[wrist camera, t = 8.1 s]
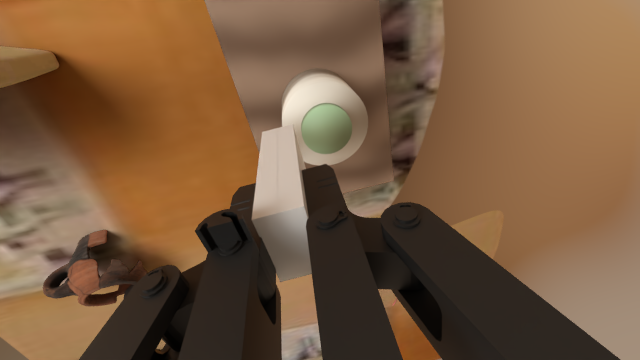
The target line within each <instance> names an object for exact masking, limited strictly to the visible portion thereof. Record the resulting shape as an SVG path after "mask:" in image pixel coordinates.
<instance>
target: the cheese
mask: <svg viewBox="0 0 640 360" xmlns="http://www.w3.org/2000/svg"><path fill="white" fill-rule="evenodd" d="M58 67H59V63H58V61H57V59H56V57H55V55H54V54H53V53H52V52H50V51H46V50H38V49H27V48H17V47H6V46H0V88H2V87H6V86H9V85H13V84H16V83H19V82H22V81H25V80H28V79H31V78H34V77H37V76H40V75H42V74H45V73H47V72H50V71H53V70H55V69H57V68H58Z"/></svg>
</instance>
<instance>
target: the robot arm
mask: <svg viewBox="0 0 640 360" xmlns="http://www.w3.org/2000/svg"><path fill="white" fill-rule="evenodd" d="M195 232H196V234H197V235H198V237H199V239H200V240H201V242H202V243H203V245H204V247H205V248H206V250H207V251H208V254H207V258H206V260H205V261H203V262H202V263H200V264H198V265H196V266H194V267H192V268H190V269H188V270H186V271H184V272H182V273H181V272H180V270H179V269H178V268H177V267H176V266H172V265H166V266H162V267H158V268H156V269H154V270H152V271H150V272H149V273H147V274H146V275H145V276H143V277H142V278H141V279H140V280H139V281H138V282H137V283H136V284H135V285H134V286H133V288H132V289H131V290H130V292H129V293H128V294H127V296H126V297H125V298H124V300H123V301H122V302H121V304H120V305H119V306H118V308H117V309H116V310H115V312H114V313H113V314H112V316H111V317H110V319H109V320H108V321H107V323H106V324H105V325H104V327H103V328H102V329H101V331H100V332H99V333H98V335H97V336H96V337H95V339H94V340H93V341H92V343H91V344H90V345H89V347H88V348H87V349H86V351H85V352H84V353H83V355H82V356H81V358H80V359H79V360H282V354H281V296H280V292H279V290H278V288H277V285H276V274H277V276H278V278H279V280H280V282H283V281H286V280H290V279H294V278H298V277H302V276H306V275H309V274H312V278H313V286H314V294H315V302H316V310H317V318H318V326H319V333H320V341H321V349H322V357H323V360H403V359H402V356H401V353H400V350H399V347H398V345H397V342H396V339H395V336H394V333H393V330H392V328H391V325H390V322H389V319H388V316H387V314H386V311H385V308H384V305H383V302H382V300H381V297H380V294H379V291H378V289H392V291H393V293H394V294H395V296H396V297H397V298H398V300H399V301H400V302H401V304H402V305H403V307H404V308H405V309H406V311H407V312H408V313H409V315H410V316H411V317H412V319H413V320H414V321H415V323H416V324H417V326H418V327H419V328H420V330H421V331H422V332H423V334H424V335H425V336H426V338H427V339H428V340H429V342H430V343H431V345H432V346H433V347H434V349H435V350H436V351H437V353H438V354H439V355H440V357H441V358H442V359H443V360H620V359H619V358H618V357H616V356H615V355H614V354H612V353H611V352H610V351H609V350H607V349H606V348H605V347H604V346H602V345H601V344H600V343H599V342H597V341H596V340H595V339H593V338H592V337H591V336H590V335H588V334H587V333H586V332H585V331H583V330H582V329H581V328H579V327H578V326H577V325H575V324H574V323H573V322H572V321H570V320H569V319H568V318H567V317H565V316H564V315H563V314H561V313H560V312H559V311H558V310H556V309H555V308H554V307H553V306H551V305H550V304H549V303H548V302H546V301H545V300H544V299H542V298H541V297H540V296H539V295H537V294H536V293H535V292H533V291H532V290H531V289H529V288H528V287H527V286H526V285H525V284H523V283H522V282H521V281H519V280H518V279H517V278H516V277H514V276H513V275H512V274H511V273H509V272H508V271H507V270H505V269H504V268H503V267H501V266H500V265H499V264H498V263H497V262H495V261H494V260H493V259H491V258H490V257H489V256H488V255H486V254H485V253H484V252H482V251H481V250H480V249H479V248H477V247H476V246H475V245H474V244H472V243H471V242H470V241H468V240H467V239H466V238H465V237H463V236H462V235H461V234H460V233H458V232H457V231H456V230H454V229H453V228H452V227H451V226H449V225H448V224H447V223H445V222H444V221H443V220H442V219H440V218H439V217H438V216H436V215H435V214H434V213H433V212H431V211H430V210H429V209H428V208H426V207H424V206H422V205H420V204H415V203H411V202H410V203H398V204H395V205H392V206H390V207H389V208H387V209H386V210H385V211H384V212H383V214H382V215H381V218H364V217H360V216H357V215H354V214H352V213H351V212H350V211H349V210H348V208H347V206H346V203H345V201H344V198H343V195H342V192H341V189H340V186H339V184H338V181H337V178H336V175H335V172H334V169H333V168H332V167H330V166H329V165H327V164H323V165H319V166H315V167H312V168H308V169H306V167H305V164H304V161H303V157H302V154H301V150H300V147H299V143H298V140H297V137H296V133H295V130H294V126H293V124H291V125H287V126H283V127H280V128H276V129H272V130H268V131H264V132H262V138H261V146H260V155H259V163H258V171H257V179H256V183H254V184H250V185H247V186H243V187H240V188H239V189H238V190H237V191H236V193H235V194H234V195H233V197H232V202H231V206H230V209H226V210H221V211H219V212H216V213H213V214H212V215H210V216H209V217H207V218H205V219H204V220H203V221H202V222H201V223H200V224H199V225H198V227H197V228H196V230H195ZM161 339H162V340H163V341H164V342H165V343H166V344H165V346H164V347H163V349H162V350H161V351H160V352H159V353H157V352H156V351H155V350H156V348H157V346H158V344H159V342H160V341H161Z"/></svg>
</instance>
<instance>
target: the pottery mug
mask: <svg viewBox="0 0 640 360" xmlns="http://www.w3.org/2000/svg"><path fill="white" fill-rule="evenodd" d="M107 232H108V231H107V230H101V231H97V232H94V233H91V234H89V235H86V236H85V237H83V238H82V239H81V240H80V241H79V243H78V246H77V248H76V250H75V252H74V254H73V256H72V259H71V260H70V262H69V263H68V264H66V265H64V266H62V267H60V268H59V269H57V270H56V271H54V272H53V273H52V274H51V275H50V276H48V278H47V279H46V280H45V282H44V285H43V292H44V294H45V295H46V296H48V297H51V298H63V297H67V296H71V295H77V296H79V297H78V302H79V303H80V304H81V305H85V306H102V305H108V304H113V303H116V301H117V296H119V295H122V294H124V293H125V294H124V298H125V297H126V296H127V294H128V293H129V292H130V290H131V289H132V288H133V286H134V285H135V284H136V283H137V282H138V281H139V280H140V279H141V278H142V277H143V276H145V275H146V274H147V271H146V270H145V269H144V268H143V266H142V262H141V261H140V260H139V261H138V263H137V264H136V266H135V267H134V268H133V269H132V270H131V271H130V272H129V271H128V268H127V267H126V266H125V265H124V264H123V263H122V261H121V260H118V259H112V260H111V264H110V267H109V268H108V269H107V270H106V272H105V273H104V274H103V275H102V276H101V277H100V275H99V273H98V263H97V262H96V260H95V259H89V258H90V256H89V250H90V248H92V247H94V246H97V245H100V244H104V243H106V242H107V237H106V236H107ZM67 277H68V279H67V280H66V281H65V283H64V284H62V285H61V286H59V285H60V284H61V282H62V281H63V280H64V279H65V278H67ZM113 285H119V288H118V291H115V292H111V293H106V294H94V295H91V293H93V292H95V291H97V290H99V289H101V288H105V287H109V286H113Z"/></svg>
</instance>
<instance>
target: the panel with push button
mask: <svg viewBox="0 0 640 360" xmlns="http://www.w3.org/2000/svg"><path fill="white" fill-rule="evenodd" d="M204 1H205V4H206V6H207V9H208V12H209V15H210V18H211V20H212V23H213V26H214V29H215V31H216V34H217V37H218V40H219V42H220V45H221V48H222V51H223V53H224V56H225V59H226V62H227V65H228V67H229V70H230V73H231V76H232V78H233V81H234V84H235V87H236V89H237V92H238V95H239V98H240V101H241V103H242V106H243V109H244V112H245V114H246V117H247V120H248V123H249V125H250V128H251V131H252V134H253V137H254V139H255V142H256V145H257V148H258V150H259V153H260V146H261V138H262V132H264V131H268V130H272V129H276V128H280V127H283V126H287V125H291V124H293V126H294V130H295V133H296V137H297V140H298V143H299V147H300V150H301V154H302V157H303V161H304V164H305V167H306V169H308V168H312V167H315V166H319V165H323V164H327V165H329V166H330V167H332V168H333V169H334V172H335V175H336V178H337V181H338V184H339V186H340V189H341V192H342V193H346V192H350V191H354V190H358V189H362V188H366V187H370V186H375V185H379V184H383V183H387V182H391V181H394V178H393V166H392V154H391V141H390V129H389V117H388V104H387V92H386V80H385V67H384V55H383V43H382V30H381V18H380V5H379V0H204Z"/></svg>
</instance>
